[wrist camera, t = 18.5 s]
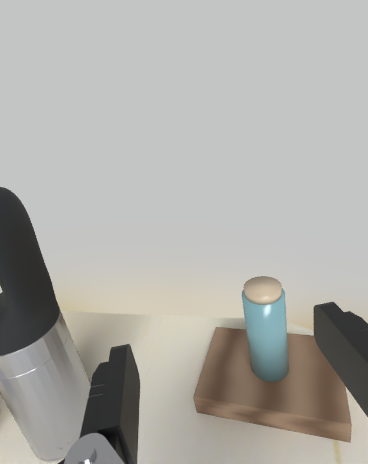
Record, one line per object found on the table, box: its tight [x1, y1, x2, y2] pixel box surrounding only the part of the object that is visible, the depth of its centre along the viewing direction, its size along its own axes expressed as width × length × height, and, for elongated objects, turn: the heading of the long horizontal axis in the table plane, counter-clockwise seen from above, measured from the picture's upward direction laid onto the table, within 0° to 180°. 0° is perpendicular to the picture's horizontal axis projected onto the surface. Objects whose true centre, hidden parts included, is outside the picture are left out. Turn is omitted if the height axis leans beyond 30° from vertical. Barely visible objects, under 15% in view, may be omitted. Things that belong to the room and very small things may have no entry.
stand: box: [194, 327, 351, 442], centre depth 42 cm, size 18×13×3 cm
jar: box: [242, 276, 289, 382], centre depth 39 cm, size 5×5×13 cm
